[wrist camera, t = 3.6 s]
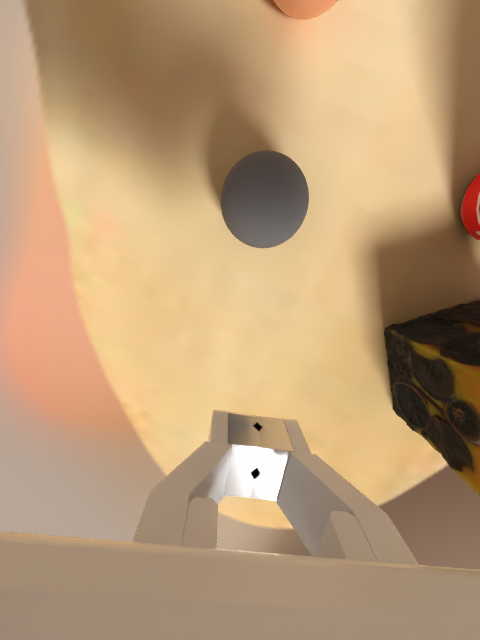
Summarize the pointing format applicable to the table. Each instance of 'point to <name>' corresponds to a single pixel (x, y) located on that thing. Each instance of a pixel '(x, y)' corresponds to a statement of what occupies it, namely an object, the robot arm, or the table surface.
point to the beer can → (472, 208)
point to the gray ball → (264, 199)
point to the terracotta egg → (304, 7)
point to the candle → (441, 383)
